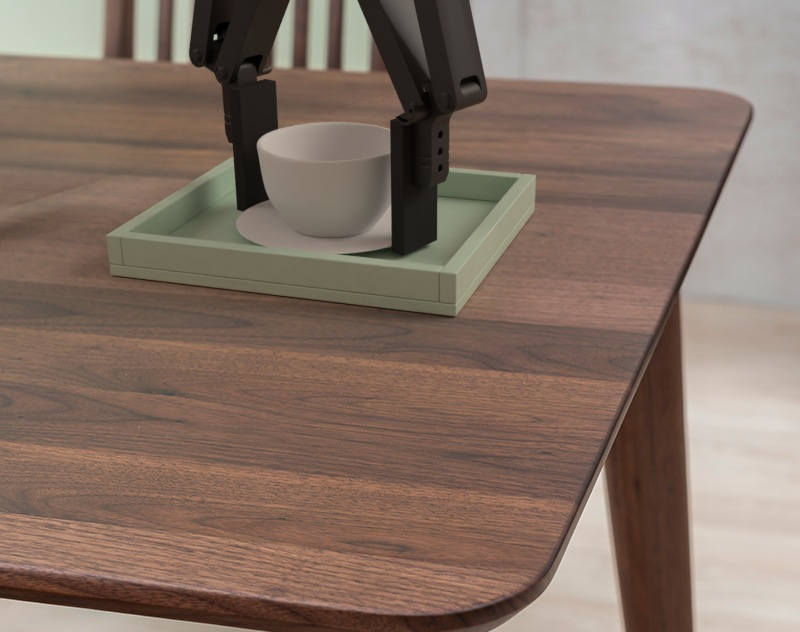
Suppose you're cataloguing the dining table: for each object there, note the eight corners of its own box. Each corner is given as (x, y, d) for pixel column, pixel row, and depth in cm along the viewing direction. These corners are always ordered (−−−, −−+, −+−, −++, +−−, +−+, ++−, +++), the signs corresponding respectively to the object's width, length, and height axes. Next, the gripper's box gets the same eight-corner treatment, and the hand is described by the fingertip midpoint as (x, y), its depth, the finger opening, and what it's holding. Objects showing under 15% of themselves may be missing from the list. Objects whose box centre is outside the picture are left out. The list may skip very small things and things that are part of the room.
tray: (110, 275, 61) (105, 234, 61) (244, 184, 75) (242, 149, 74) (455, 317, 56) (456, 273, 55) (534, 211, 70) (536, 174, 69)
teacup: (420, 266, 60) (420, 171, 58) (216, 260, 61) (209, 166, 59) (436, 201, 69) (437, 116, 67) (258, 196, 70) (253, 113, 68)
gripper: (584, -265, 51) (557, 250, 61) (201, -257, 64) (231, 169, 74) (477, -267, 46) (467, 296, 56) (84, -258, 59) (133, 201, 69)
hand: (333, 224), depth 65 cm, fingers closed on teacup, 10 cm apart
